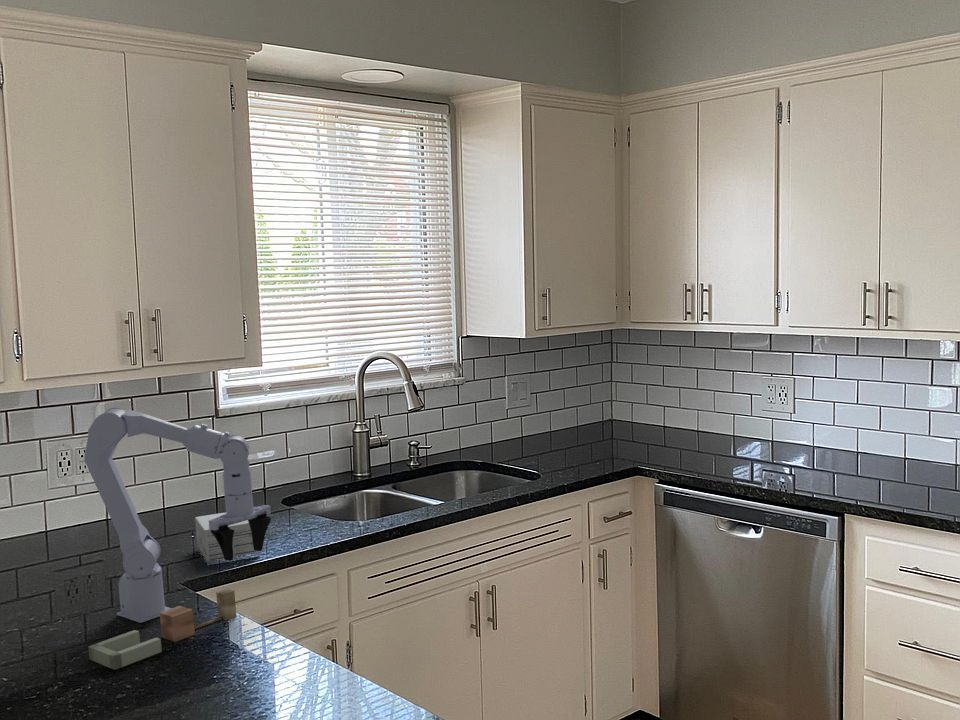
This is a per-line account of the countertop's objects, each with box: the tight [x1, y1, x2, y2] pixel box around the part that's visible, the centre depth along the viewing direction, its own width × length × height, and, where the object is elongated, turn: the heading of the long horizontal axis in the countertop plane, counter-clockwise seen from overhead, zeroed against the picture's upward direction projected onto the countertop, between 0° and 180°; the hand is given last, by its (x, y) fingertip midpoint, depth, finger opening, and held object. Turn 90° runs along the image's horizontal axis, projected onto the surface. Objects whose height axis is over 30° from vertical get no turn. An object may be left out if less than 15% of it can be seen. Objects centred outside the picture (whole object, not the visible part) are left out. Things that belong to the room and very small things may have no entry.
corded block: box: [159, 588, 238, 643], centre depth 188 cm, size 4×15×6 cm, turn 141°
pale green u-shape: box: [88, 629, 163, 671], centre depth 175 cm, size 9×10×2 cm
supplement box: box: [194, 511, 260, 561], centre depth 240 cm, size 17×13×9 cm
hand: (243, 554), depth 201 cm, fingers open, 7 cm apart
